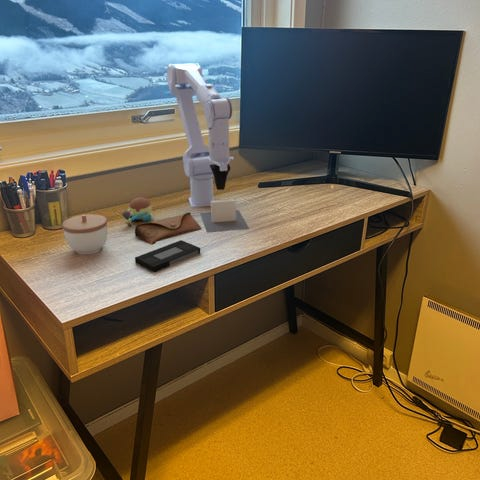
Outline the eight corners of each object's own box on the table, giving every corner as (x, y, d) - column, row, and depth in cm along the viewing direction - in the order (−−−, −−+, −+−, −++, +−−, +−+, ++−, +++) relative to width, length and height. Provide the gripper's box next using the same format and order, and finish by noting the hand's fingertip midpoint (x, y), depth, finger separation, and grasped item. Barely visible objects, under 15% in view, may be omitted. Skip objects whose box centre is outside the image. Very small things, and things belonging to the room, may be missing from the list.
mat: (200, 214, 146) (199, 212, 146) (238, 211, 148) (238, 210, 148) (206, 233, 132) (206, 232, 131) (249, 230, 134) (249, 228, 133)
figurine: (118, 224, 143) (111, 204, 139) (147, 211, 147) (142, 191, 144) (129, 232, 137) (122, 211, 134) (159, 218, 142) (153, 198, 138)
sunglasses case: (149, 245, 124) (141, 221, 125) (139, 250, 130) (132, 227, 130) (206, 229, 134) (199, 206, 135) (195, 234, 140) (188, 213, 141)
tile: (211, 220, 140) (210, 200, 137) (234, 218, 141) (234, 199, 139) (212, 222, 138) (211, 202, 136) (235, 220, 140) (235, 200, 137)
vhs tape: (200, 255, 120) (200, 247, 119) (154, 274, 110) (153, 266, 110) (181, 247, 125) (181, 240, 124) (135, 264, 115) (134, 257, 114)
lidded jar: (72, 242, 127) (67, 208, 123) (113, 240, 128) (109, 207, 124) (61, 259, 117) (55, 223, 114) (106, 257, 118) (101, 222, 114)
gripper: (237, 147, 129) (238, 195, 135) (228, 137, 142) (229, 181, 148) (212, 148, 128) (213, 197, 133) (205, 138, 141) (206, 183, 146)
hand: (220, 189), depth 140 cm, fingers closed
